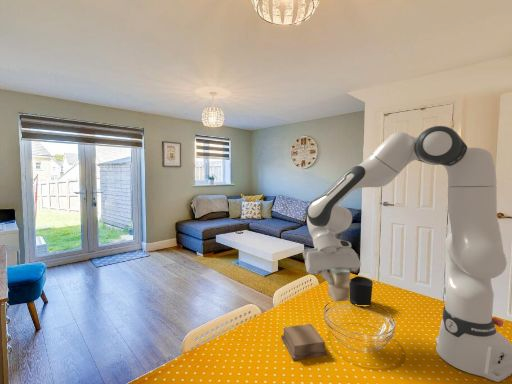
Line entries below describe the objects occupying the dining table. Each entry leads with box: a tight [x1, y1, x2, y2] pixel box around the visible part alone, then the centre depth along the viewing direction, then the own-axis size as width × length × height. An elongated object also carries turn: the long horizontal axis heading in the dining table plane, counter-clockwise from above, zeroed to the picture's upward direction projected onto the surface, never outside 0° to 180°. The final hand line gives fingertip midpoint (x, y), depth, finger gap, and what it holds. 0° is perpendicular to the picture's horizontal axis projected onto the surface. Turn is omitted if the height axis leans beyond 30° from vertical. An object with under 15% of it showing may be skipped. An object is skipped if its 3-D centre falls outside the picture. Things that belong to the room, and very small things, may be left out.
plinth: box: [280, 323, 328, 361], centre depth 86 cm, size 11×11×4 cm
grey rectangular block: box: [327, 267, 351, 303], centre depth 92 cm, size 5×5×10 cm
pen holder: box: [349, 275, 374, 306], centre depth 115 cm, size 9×9×10 cm
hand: (339, 283), depth 91 cm, fingers closed on grey rectangular block, 5 cm apart
